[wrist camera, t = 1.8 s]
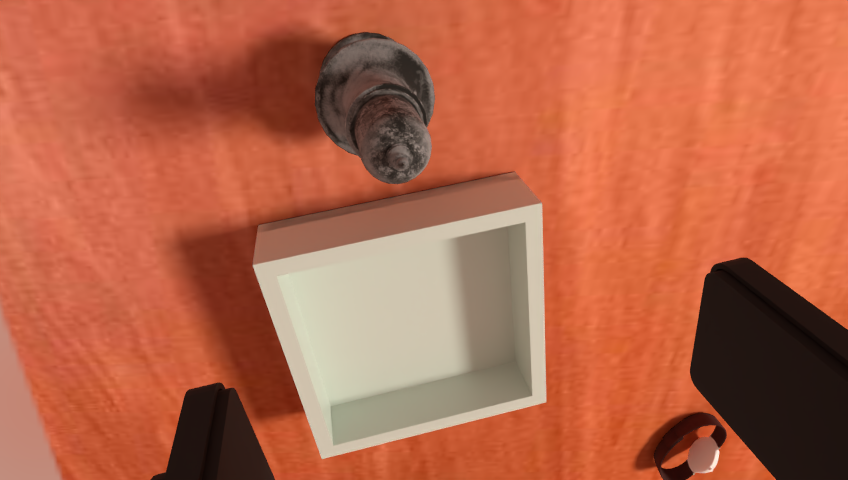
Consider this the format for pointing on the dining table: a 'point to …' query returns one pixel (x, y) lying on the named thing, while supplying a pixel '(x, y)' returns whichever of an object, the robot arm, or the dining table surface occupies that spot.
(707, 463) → the watch
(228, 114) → the dining table surface
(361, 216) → the tray
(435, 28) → the dining table surface
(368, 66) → the salt shaker
